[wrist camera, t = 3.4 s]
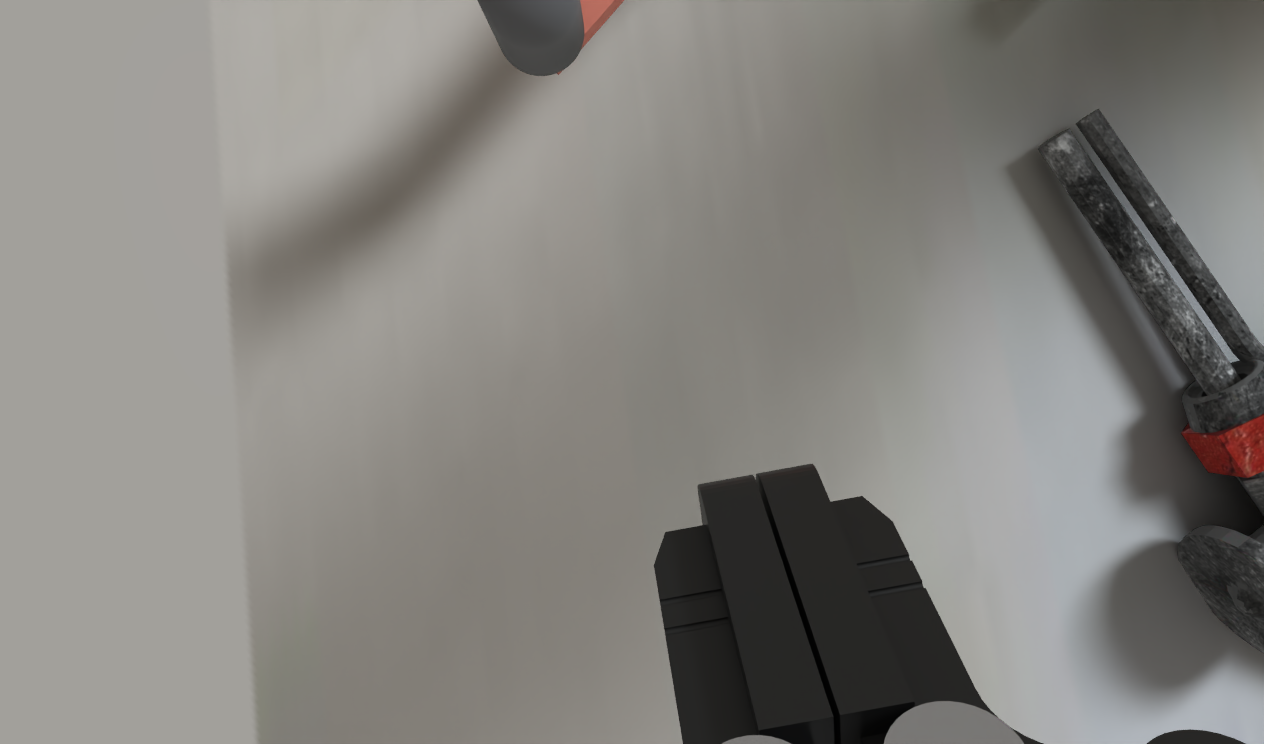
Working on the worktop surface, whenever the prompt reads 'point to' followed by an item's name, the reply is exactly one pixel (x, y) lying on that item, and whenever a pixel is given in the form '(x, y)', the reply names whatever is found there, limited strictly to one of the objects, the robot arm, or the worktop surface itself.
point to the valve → (1186, 360)
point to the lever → (545, 30)
